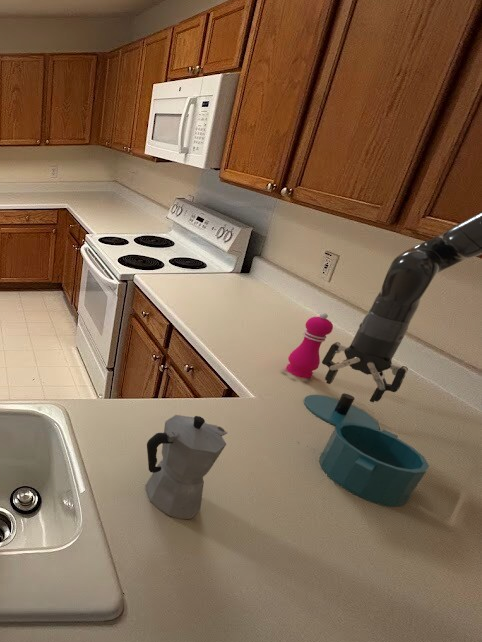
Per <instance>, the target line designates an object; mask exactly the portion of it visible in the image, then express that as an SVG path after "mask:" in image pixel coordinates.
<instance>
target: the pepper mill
mask: <svg viewBox="0 0 482 642" xmlns="http://www.w3.org/2000/svg"><path fill="white" fill-rule="evenodd" d="M328 317H329V315H328V313H326V312H320V314H319V316H312V317H310V318H307V321H306V322H305V325H304V326H305V329H306V330H304V333H303V340H302V341H301V343H300V344H299V346H297V347H295V349H293V350H292V351H291V352H290V354H289V355H288V359H287V360H288V362H289V363H288V364H287V365H286V367H285V370H286V371H287V372H288V373H290V374H291V375H294V376H296V377H299V378H302V379H311V378H312V377H313V374H314V373H313V372H314V371H315V370H317V369H318V368H319V366H320V365H321V364H320V363H321V357H320V348H321V345H322V344H323V342H325V341H326V339H327V335H330V334H331V333H332V331H333V329H334V325H333V323H332V322H331V321H330V320H329V319H328Z"/></svg>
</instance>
